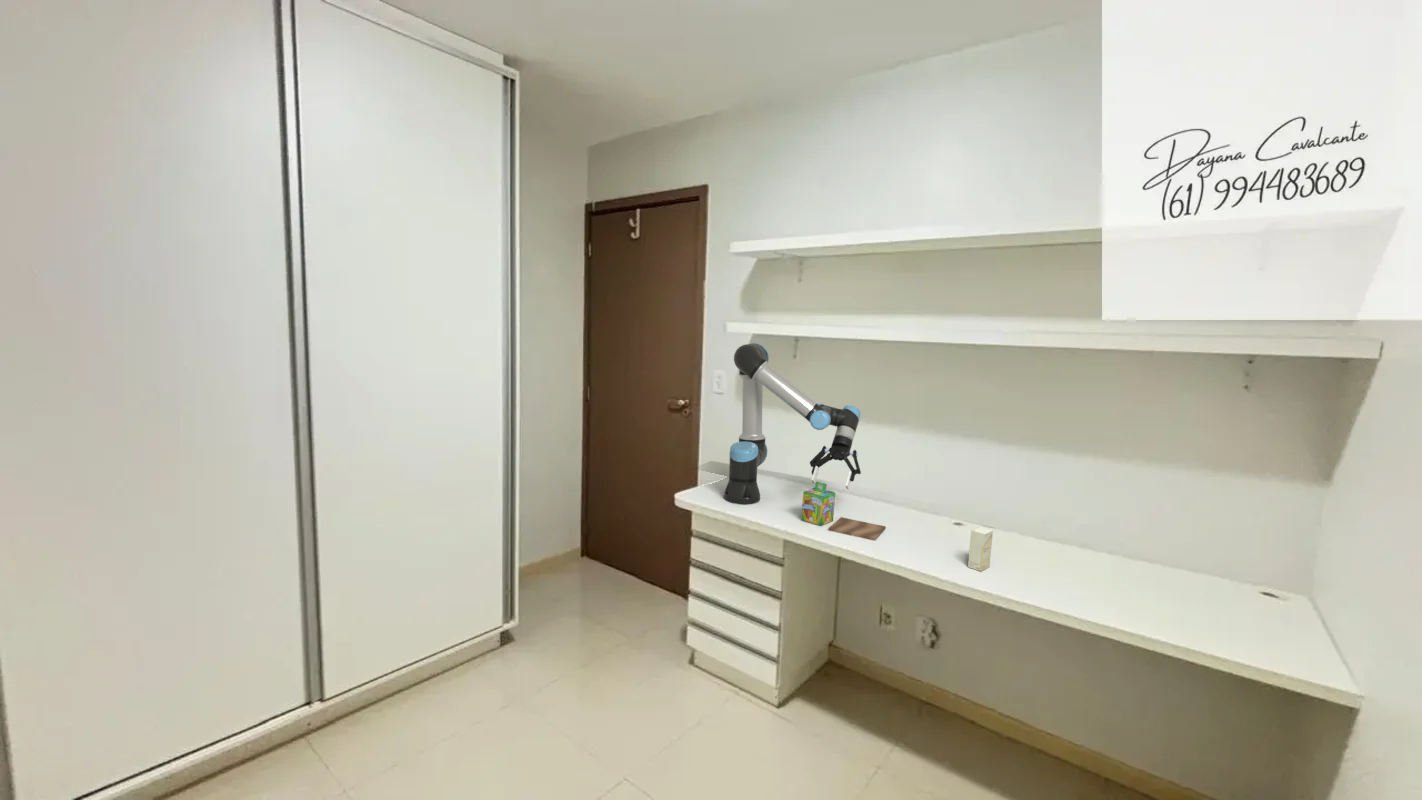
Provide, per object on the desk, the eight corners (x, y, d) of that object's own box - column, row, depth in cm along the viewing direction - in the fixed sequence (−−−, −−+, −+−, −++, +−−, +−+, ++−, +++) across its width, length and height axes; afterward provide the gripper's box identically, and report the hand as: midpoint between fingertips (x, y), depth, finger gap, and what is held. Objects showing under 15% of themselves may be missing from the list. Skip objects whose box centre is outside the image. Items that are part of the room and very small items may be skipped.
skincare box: (981, 572, 181) (984, 534, 180) (966, 567, 185) (970, 530, 183) (990, 566, 185) (993, 530, 184) (976, 562, 189) (979, 526, 187)
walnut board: (828, 530, 213) (828, 527, 213) (840, 519, 225) (840, 517, 225) (875, 540, 204) (875, 537, 204) (885, 528, 216) (885, 526, 216)
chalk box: (800, 520, 222) (802, 482, 220) (813, 515, 229) (815, 478, 227) (821, 527, 216) (824, 488, 214) (834, 521, 223) (836, 483, 221)
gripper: (875, 448, 234) (863, 494, 223) (815, 441, 246) (801, 484, 235) (872, 438, 228) (860, 484, 217) (811, 430, 240) (797, 474, 230)
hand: (829, 484), depth 226 cm, fingers open, 13 cm apart
